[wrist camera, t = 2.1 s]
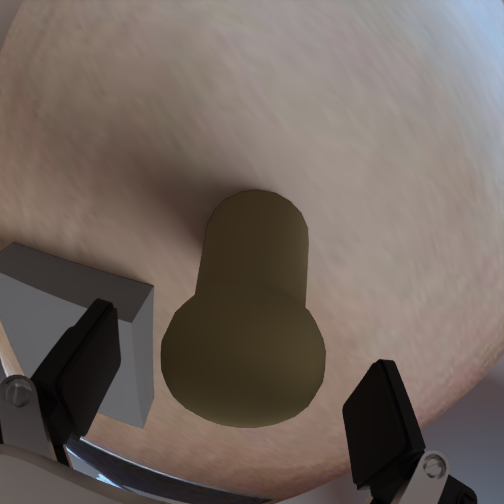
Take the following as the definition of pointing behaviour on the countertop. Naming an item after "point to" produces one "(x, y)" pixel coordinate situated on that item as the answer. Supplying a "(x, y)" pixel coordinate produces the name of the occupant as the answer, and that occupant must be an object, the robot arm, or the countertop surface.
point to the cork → (247, 319)
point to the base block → (69, 312)
